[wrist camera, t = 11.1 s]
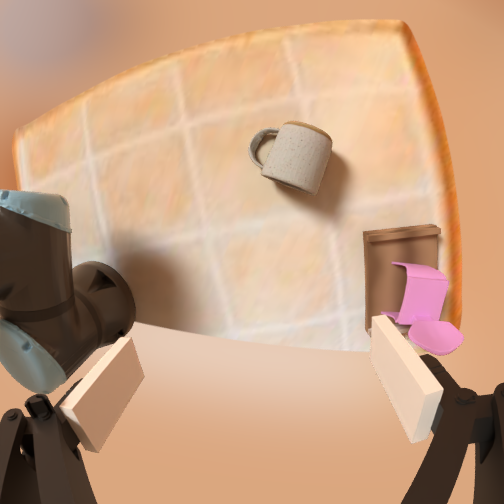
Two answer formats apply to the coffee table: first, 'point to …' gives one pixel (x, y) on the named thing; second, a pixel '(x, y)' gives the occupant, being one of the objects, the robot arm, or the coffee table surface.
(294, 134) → the ceramic mug
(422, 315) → the toy chair
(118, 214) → the coffee table surface
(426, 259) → the shelf board
